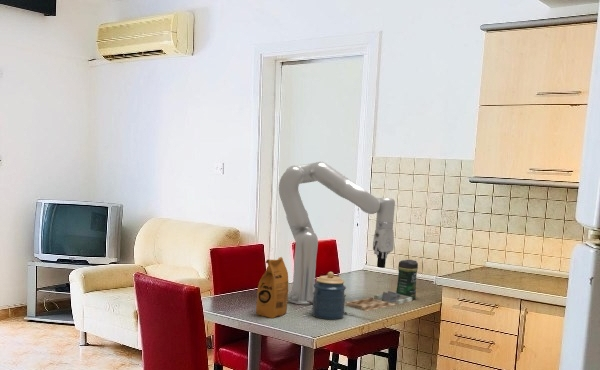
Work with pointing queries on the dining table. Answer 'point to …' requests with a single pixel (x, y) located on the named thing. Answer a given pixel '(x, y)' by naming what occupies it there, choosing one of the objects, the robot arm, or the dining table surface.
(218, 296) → the dining table surface
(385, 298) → the gray cube
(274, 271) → the coffee package
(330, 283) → the canister
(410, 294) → the coffee jar
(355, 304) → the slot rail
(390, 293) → the grey cube
